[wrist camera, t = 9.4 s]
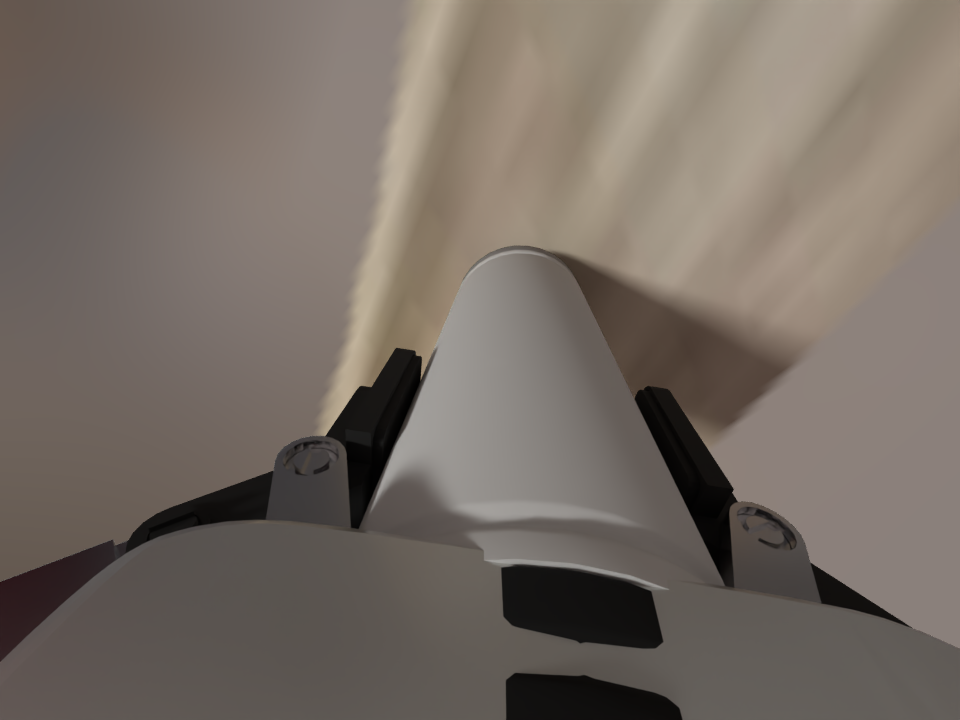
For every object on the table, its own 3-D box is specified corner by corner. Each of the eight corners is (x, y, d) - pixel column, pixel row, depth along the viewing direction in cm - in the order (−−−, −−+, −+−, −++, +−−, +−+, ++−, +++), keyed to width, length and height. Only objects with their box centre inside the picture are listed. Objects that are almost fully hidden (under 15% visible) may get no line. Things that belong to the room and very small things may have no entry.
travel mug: (612, 296, 20) (1450, 1522, 2) (521, 381, 22) (545, 1245, 5) (519, 209, 18) (637, 1947, 1) (433, 311, 21) (-27, 1190, 3)
